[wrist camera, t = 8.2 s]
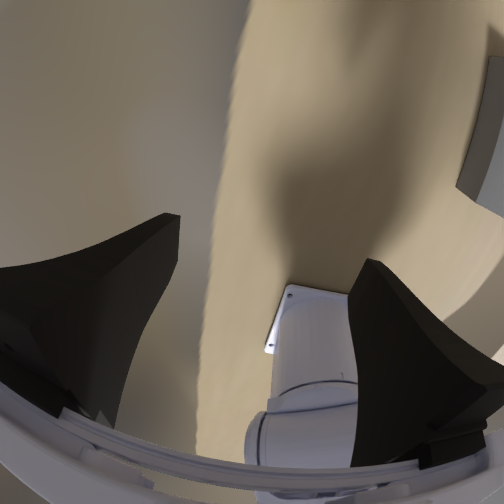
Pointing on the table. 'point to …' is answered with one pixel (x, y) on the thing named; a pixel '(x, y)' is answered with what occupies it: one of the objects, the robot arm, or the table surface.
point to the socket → (487, 146)
